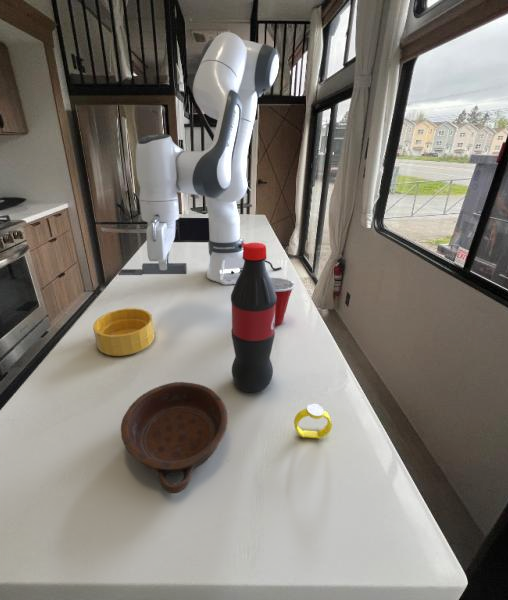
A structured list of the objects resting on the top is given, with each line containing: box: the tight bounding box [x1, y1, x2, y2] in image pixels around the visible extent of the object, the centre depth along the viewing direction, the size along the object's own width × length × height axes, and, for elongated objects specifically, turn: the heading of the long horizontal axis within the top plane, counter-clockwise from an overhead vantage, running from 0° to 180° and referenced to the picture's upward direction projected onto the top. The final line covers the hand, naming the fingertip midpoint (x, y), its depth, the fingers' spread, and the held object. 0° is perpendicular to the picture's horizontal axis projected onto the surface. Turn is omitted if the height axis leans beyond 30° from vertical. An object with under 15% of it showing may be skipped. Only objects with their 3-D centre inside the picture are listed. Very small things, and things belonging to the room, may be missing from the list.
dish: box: [120, 381, 229, 495], centre depth 55 cm, size 18×22×5 cm
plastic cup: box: [270, 276, 295, 327], centre depth 89 cm, size 11×11×12 cm
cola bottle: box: [230, 242, 277, 393], centre depth 62 cm, size 8×8×30 cm
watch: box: [293, 403, 333, 440], centre depth 54 cm, size 6×3×6 cm, turn 87°
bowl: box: [92, 307, 155, 357], centre depth 82 cm, size 14×14×6 cm
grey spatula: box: [117, 262, 188, 276], centre depth 82 cm, size 17×3×2 cm, turn 91°
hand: (164, 267), depth 82 cm, fingers closed on grey spatula, 1 cm apart
